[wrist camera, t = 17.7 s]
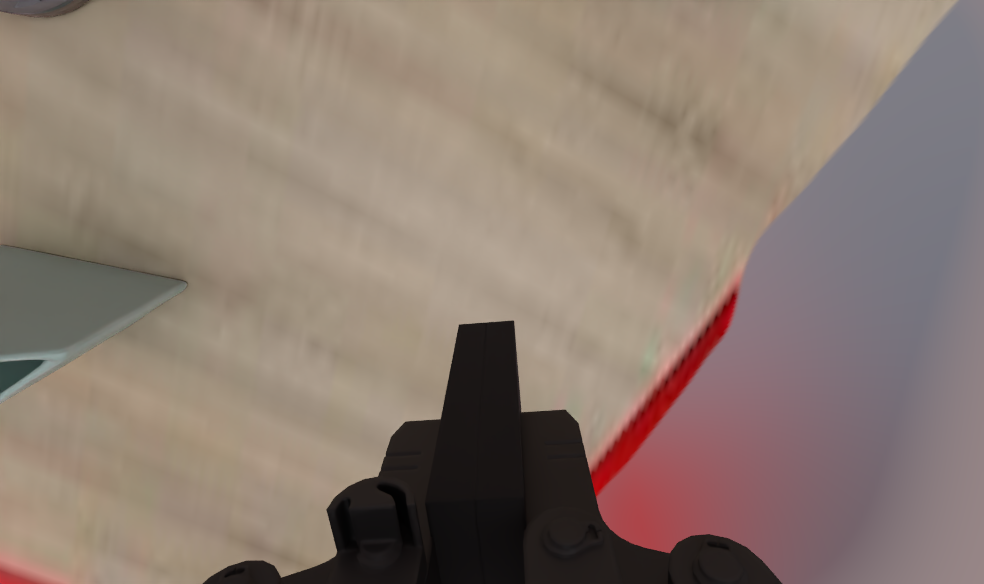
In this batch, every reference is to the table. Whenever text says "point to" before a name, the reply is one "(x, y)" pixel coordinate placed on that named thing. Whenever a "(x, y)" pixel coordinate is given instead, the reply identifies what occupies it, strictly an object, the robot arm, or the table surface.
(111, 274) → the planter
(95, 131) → the table surface
